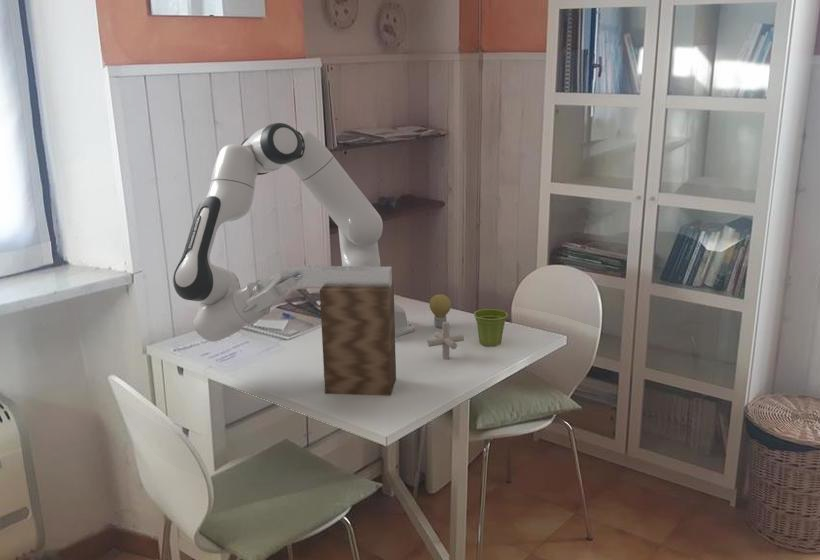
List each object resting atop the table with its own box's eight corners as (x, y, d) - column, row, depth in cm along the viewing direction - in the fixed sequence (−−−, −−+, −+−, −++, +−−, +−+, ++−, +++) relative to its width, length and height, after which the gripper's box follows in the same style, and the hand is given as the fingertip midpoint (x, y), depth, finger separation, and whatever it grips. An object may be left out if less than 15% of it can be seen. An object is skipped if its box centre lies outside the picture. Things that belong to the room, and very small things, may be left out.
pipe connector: (437, 367, 202) (436, 331, 200) (421, 355, 211) (420, 320, 208) (471, 361, 206) (471, 325, 203) (454, 349, 215) (454, 314, 212)
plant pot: (488, 335, 226) (488, 306, 223) (514, 342, 219) (514, 313, 217) (466, 343, 219) (466, 314, 217) (492, 351, 213) (493, 321, 210)
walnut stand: (325, 393, 187) (319, 290, 180) (333, 377, 197) (328, 278, 190) (390, 395, 186) (387, 291, 179) (396, 379, 195) (393, 279, 188)
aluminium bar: (281, 286, 184) (280, 269, 183) (285, 281, 188) (284, 265, 187) (389, 287, 182) (389, 271, 180) (391, 282, 185) (391, 266, 184)
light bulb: (435, 331, 230) (435, 299, 227) (426, 325, 235) (425, 293, 233) (454, 328, 232) (454, 296, 229) (445, 322, 238) (444, 290, 235)
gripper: (232, 303, 178) (281, 274, 175) (258, 279, 198) (303, 253, 194) (247, 326, 179) (296, 298, 176) (272, 300, 199) (316, 274, 195)
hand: (300, 274), depth 185 cm, fingers open, 8 cm apart
